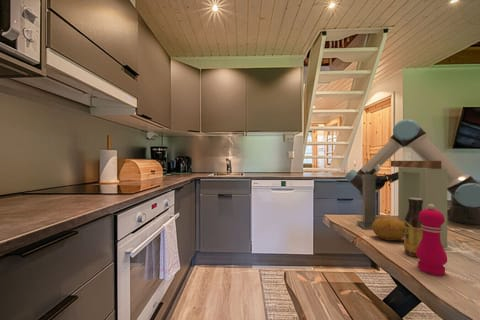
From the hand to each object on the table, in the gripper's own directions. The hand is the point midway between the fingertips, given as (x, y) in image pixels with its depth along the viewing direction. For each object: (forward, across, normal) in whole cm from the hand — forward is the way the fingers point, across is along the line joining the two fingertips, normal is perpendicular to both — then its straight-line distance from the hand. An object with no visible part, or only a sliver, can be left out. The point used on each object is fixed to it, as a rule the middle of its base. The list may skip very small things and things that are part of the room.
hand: (393, 166), depth 115 cm
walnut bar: (+11, -1, -7) cm, 13 cm away
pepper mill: (+26, +16, -50) cm, 59 cm away
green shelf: (0, -1, -35) cm, 35 cm away
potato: (+3, +13, -37) cm, 39 cm away
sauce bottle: (+16, +13, -44) cm, 49 cm away
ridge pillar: (-12, +13, -28) cm, 33 cm away
